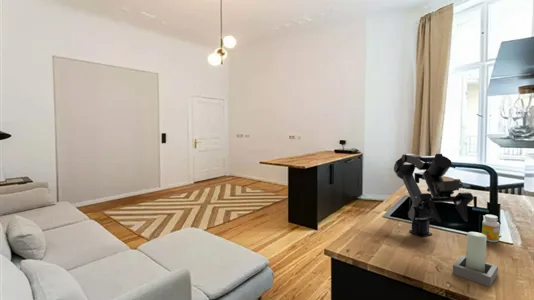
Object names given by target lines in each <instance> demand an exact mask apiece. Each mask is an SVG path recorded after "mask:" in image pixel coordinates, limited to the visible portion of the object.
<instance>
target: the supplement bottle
mask: <svg viewBox="0 0 534 300" xmlns="http://www.w3.org/2000/svg"><path fill="white" fill-rule="evenodd" d="M498 221H499V218H498V216H497V215H494V214H485V215H484V220H482V223H481V224H482V227H481V233H482V234H484V235H486V236H487V240H486V242H487V241H488V242H491V243H497V242H499V239H500V227H501V226H500V225H501V224H500V222H498Z"/></svg>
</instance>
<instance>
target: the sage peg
mask: <svg viewBox="0 0 534 300" xmlns="http://www.w3.org/2000/svg"><path fill="white" fill-rule="evenodd" d="M486 240H487V236H486V235H484V234H482V232H477V231H468V232H467V233H466V249H465V250H466V251H465V252H466V254H465V256H466V266H465V267H466V268H469V269H472V270H475V271H478V272H481V273H485V262H486V257H487V256H486V253H487V241H486ZM485 274H486V273H485Z"/></svg>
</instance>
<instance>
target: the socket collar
mask: <svg viewBox="0 0 534 300" xmlns="http://www.w3.org/2000/svg"><path fill="white" fill-rule="evenodd" d="M498 271H499V266H498V265H496V264H493V263H489V262H488V261H487V262H486V261H485V273H481V272H478V271H475V270H472V269H469V268H466V255H464V254H462V255H461V256H460V257H459V258H458V259H457V260H455V262H454V263H453V264H452V274H453V275H455V276H457V277H460V278H463V279H466V280H469V281H471V282H475V283H477V284H481V285H483V286H486V287H489V288H490V287H491V286H492V285H493V283H494V281H495V279H496V278H497V276H498Z"/></svg>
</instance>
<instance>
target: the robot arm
mask: <svg viewBox="0 0 534 300" xmlns="http://www.w3.org/2000/svg"><path fill="white" fill-rule="evenodd" d="M451 160H452V159H449V158H448V157H447V156H445V155H443V153H436V154H435V155H418V154H415V153H404V154H402V155H401V157H400V158H398V159H397V160H396V161H395V164H394V166H393V172H394V173H395V174H396V176H397V178H399V179H401V180H402V181H403V184H404V185H405V188H406V191H407V193H408V195H409V197H410V200H411V201H412V203H411V204H412V205H411V207H410V209H409V211H408V212H407V215H408V218H409V219H410V220H411V221H412V222H411V229H409V230H408V231H409V232H410V233H412V234H414V235H416V236H419V237H421V238H423V237H425V236H426V237H427V236H431V235H433V233H432V232H430V222H434V221H437V222H438V223H441V221H442V220H441V217H440V214H439V212H438V210H437V208H436V206H435V203H451V202H452V203H453V204H454V205H455V209H456V211H457V212H458V214H459V215H460V216H461V218H462V220H463V221H464V222H468V221H469V218H468V215H469V214H468V206H469V205H468V204H470V203H471V202H472V201H473V200H475V198H474V196H473V194H472V193H471V192H457V194H456V195H454V193H455V191H460V189H462V188H463V187H464V185H463V182H462V181H461V179H460V178H457V179H452V180H444V179H443V176H445V174H447V172H448V170H449V169H450V168H451V166H452V165H453V164H452V161H451ZM416 169H418V171H423V173H422V176H421V180H424V182H425V183H426V185H427V189H426V191H427V192H428V193H427V192H426V193H425V192H424V193H422V192H421V189H420V187H419V185H418V183H417V181H416V179H415V177H414V172H415V170H416ZM452 195H454V196H452Z"/></svg>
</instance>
